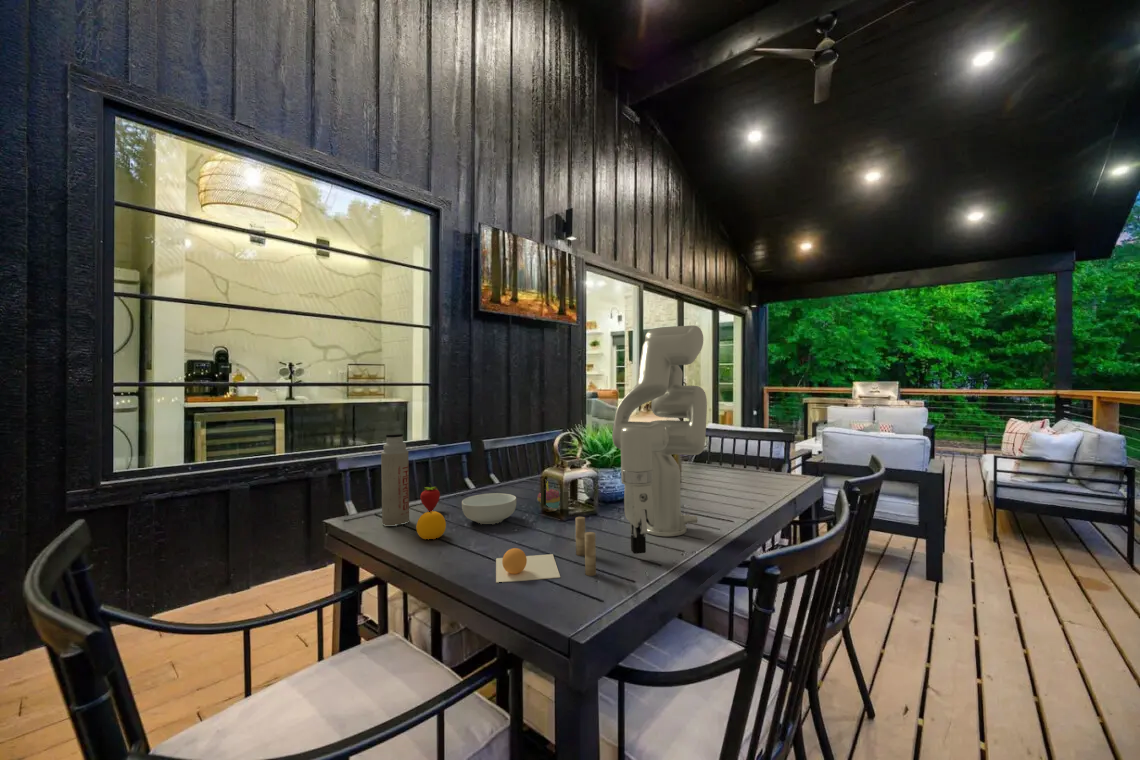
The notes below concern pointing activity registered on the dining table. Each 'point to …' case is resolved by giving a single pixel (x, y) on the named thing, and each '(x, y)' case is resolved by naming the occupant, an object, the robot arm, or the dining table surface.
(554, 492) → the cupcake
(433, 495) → the strawberry
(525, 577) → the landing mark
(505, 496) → the cereal bowl
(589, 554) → the post
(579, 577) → the dining table surface
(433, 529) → the orange round fruit
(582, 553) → the post
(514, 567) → the ball
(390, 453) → the thermos bottle
